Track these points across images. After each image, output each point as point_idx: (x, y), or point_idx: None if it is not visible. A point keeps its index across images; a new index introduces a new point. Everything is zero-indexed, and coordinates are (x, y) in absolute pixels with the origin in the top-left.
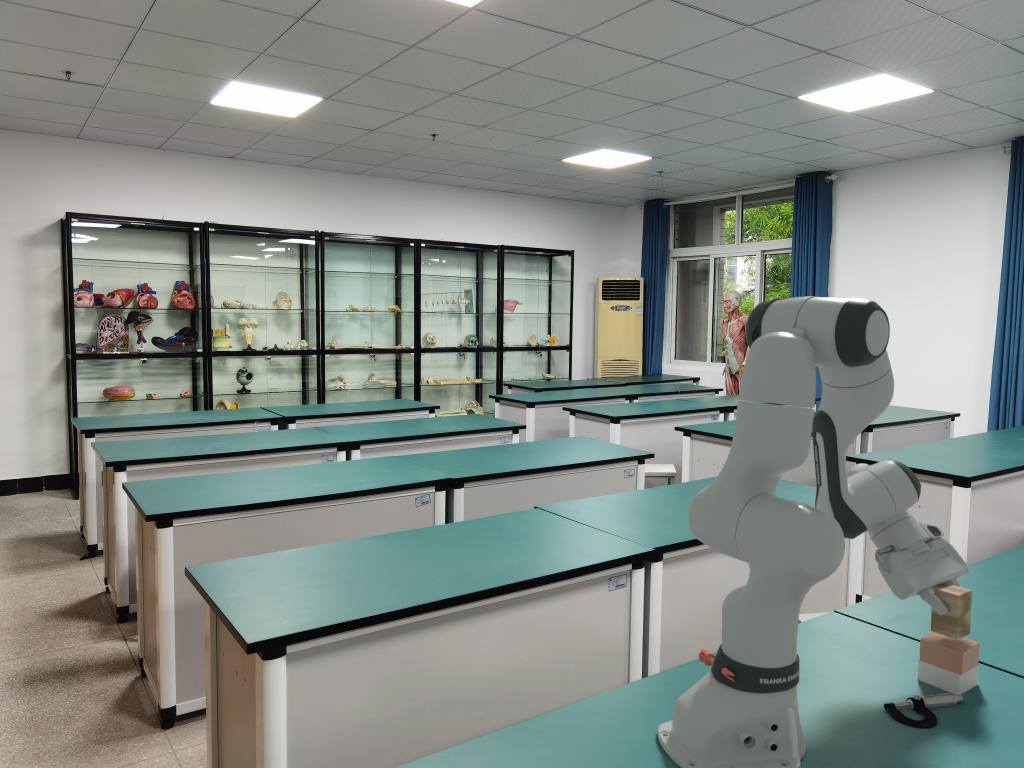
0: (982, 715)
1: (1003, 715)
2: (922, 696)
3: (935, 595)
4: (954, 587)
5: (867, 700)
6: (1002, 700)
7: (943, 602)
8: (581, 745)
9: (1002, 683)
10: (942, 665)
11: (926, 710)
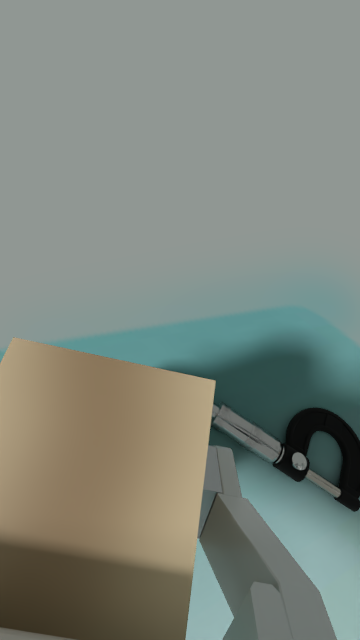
0: (217, 360)
1: (191, 336)
2: (277, 455)
3: (264, 559)
4: (16, 475)
5: (346, 557)
6: (132, 348)
7: (214, 485)
8: None
9: None
10: None
11: (294, 435)
